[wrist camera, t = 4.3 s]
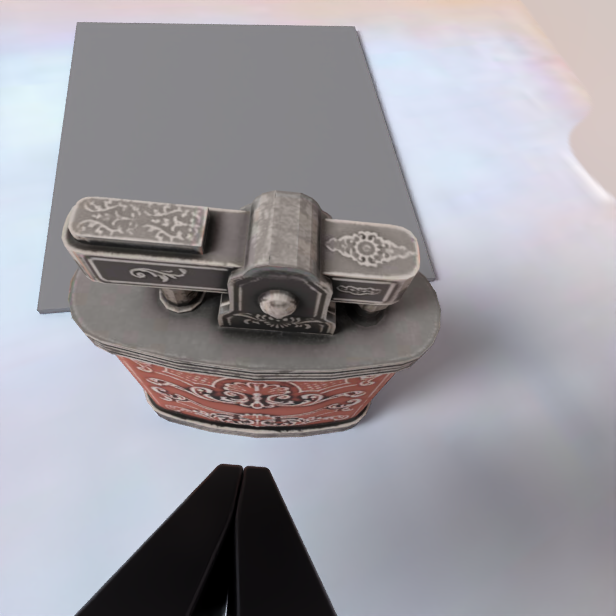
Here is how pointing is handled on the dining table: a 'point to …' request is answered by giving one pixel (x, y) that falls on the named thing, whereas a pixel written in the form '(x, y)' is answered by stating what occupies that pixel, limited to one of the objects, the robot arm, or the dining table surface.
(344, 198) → the mat
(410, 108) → the dining table surface
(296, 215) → the lighter
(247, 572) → the robot arm
